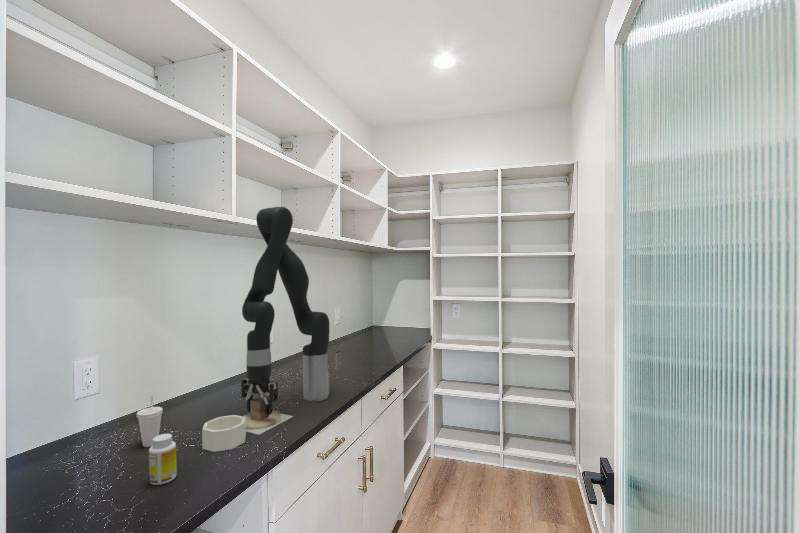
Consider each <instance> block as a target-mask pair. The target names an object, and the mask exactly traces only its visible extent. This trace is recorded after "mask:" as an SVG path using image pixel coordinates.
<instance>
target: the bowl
mask: <svg viewBox="0 0 800 533" xmlns="http://www.w3.org/2000/svg"><path fill="white" fill-rule="evenodd" d="M246 437H247V432H246V417H242V415H236V414H231V415H224V416H218V417H216V418H213V419H210V420H208V421H206V422H204V425H203V427H202V429H201V439H202V440H201V441H202V444H201V445H202V446H201V448H202V450H204V451H209V452H212V453H216V452H222V451H228V450H233V449H235V448H236V447H238V446H240V445H242V444H244V443H246Z"/></svg>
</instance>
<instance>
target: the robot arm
mask: <svg viewBox="0 0 800 533" xmlns="http://www.w3.org/2000/svg"><path fill="white" fill-rule="evenodd" d="M255 220H256V225H257V228H258V230H259V232H260V235H261V236H262V238H263V240H264V242H265V244H266V245H267V247H266V248H265V250H264V252H263V253H262V255H261V256H260V258H259V260H258V262H257V263H256V266H255V269H254V272H253V277H252V284H251V287H250V289H249V291H248V292H247V295H246V298H245V299H244V302H243V304H242V308H241V309H242V312H241V314H242V317H243V319H244V320H245V321H246V322H247V323H248V322H250V323H253V324H254V329H253V330H250V331H249V332H248V333H247V336H246V350H247V351H246V358H245V359H246V378H243V379H241V381H240V383H241V384H240V385H241V388H240V389H241V398H242V399H245V401H246V409H247V412H249V413H251V411H250V401H251V400H253V399H255V396H256V395H258V396H259V395H260V397H261V398H263V399H264V401H265V403H266V404H265V415H267V416H268V415H270V414H272V411H274V410H273V409H274V408H273V404H274V403H275V402H277V401H278V399H279V397H278V395H279V394H278V393H279V391H278V390H279V388H278V386H279V384H278V382H276V381H274V382H271V381H270V377H271V375H272V353H271V332H272V330H273V324H274V320H275V309H274V307H273V304H272V303H271V302H269V301H265V298H266V297H267V296H269V295H272V293H274V289H275V286H276V279H277V274H279V276H280V280H281V282H282V285H283V287H284V288H285V291H286V294H287V296H288V298H289V302H290V304H291V307H292V311H293V315H294V319H295V322H296V325H297V328H298V330H299V331H300V333H301V334H303V335H306V336H311V340H310V343H309V344H306V345H304V346H303V347H302V377H303V378H302V379H303V380H302V382H303V383H302V384H303V386H302V387H303V389H302V390H303V392H302V393H303V400H305V401H310V402H321V401H324V400H327V399H328V397H329V396H330V371H329V370H328V347H329V344H330V319H329V316H328V314H327V313H326V312H323V311H312V309H311V307H310V304H309V302H308V290H309V284H310V278H309V276H308V272H307V270H306V266H305V264H304V262H303V260H301V258H300V257H299V256H298V255H297V254H296V253H295V252H294V251H293V250H292V248H291V247H290V246H289V245H288V244H287V241H288V239H289V236H290V234H291V230H292V228H293V223H294V221H293V220H294V218H293V214H292V212H291V210H290V209H288V208H287V207H285V206H274V207H267V208H262V209H260V210H259V211H258V212H257V214H256V219H255ZM268 398H269V400H268Z"/></svg>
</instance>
